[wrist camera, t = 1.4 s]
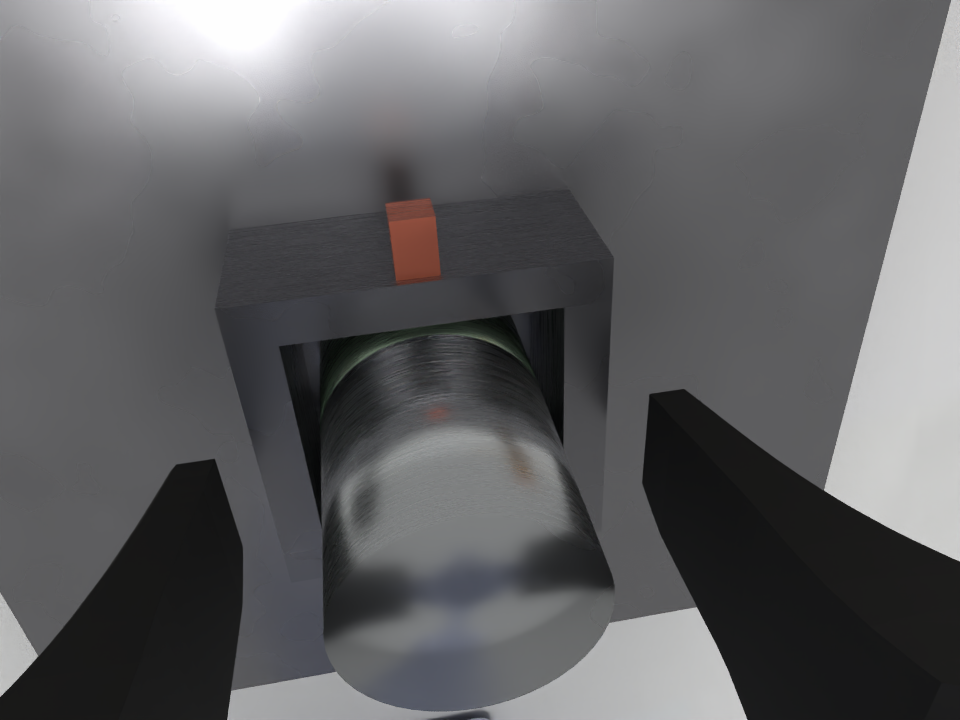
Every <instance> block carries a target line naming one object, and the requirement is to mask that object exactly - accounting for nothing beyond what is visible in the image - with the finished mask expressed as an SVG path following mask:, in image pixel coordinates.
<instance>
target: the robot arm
mask: <svg viewBox="0 0 960 720" xmlns="http://www.w3.org/2000/svg"><path fill="white" fill-rule="evenodd" d="M642 485H643V488H644V491H645V493H646V496H647V499H648V502H649V505H650V508H651V511H652V514H653V516H654V519H655V522H656V524H657V527H658V530H659V533H660V535H661V537H662V539H663V541H664V543H665V545H666V547H667V549H668V551H669V553H670V555H671V557H672V559H673V561H674V563H675V565H676V567H677V569H678V571H679V573H680V575H681V577H682V579H683V581H684V583H685V585H686V587H687V588H688V590H689V592H690V594H691V596H692V598H693V600H694V602H695V604H696V606H697V608H698V610H699V612H700V614H701V616H702V618H703V619H704V621H705V623H706V625H707V627H708V629H709V631H710V633H711V635H712V637H713V639H714V641H715V643H716V645H717V647H718V649H719V651H720V653H721V655H722V658H723V660H724V662H725V664H726V666H727V668H728V671H729V673H730V676H731V678H732V681H733V684H734V686H735V689H736V691H737V694H738V696H739V699H740V701H741V704H742V707H743V709H744V712H745V714H746V717H747V719H748V720H960V562H959V561H957V560H955V559H952V558H950V557H948V556H946V555H944V554H942V553H939V552H937V551H935V550H933V549H931V548H929V547H927V546H924V545H922V544H920V543H918V542H916V541H914V540H912V539H910V538H908V537H906V536H904V535H902V534H900V533H898V532H896V531H894V530H892V529H890V528H888V527H886V526H884V525H882V524H881V523H879V522H877V521H875V520H873V519H871V518H870V517H868V516H866V515H864V514H862V513H861V512H859V511H857V510H855V509H853V508H852V507H850V506H848V505H846V504H845V503H843V502H841V501H840V500H838V499H836V498H835V497H833V496H831V495H830V494H828V493H827V492H825V491H824V490H822V489H821V488H819V487H817V486H816V485H814V484H813V483H811V482H810V481H808V480H807V479H805V478H804V477H802V476H800V475H799V474H797V473H796V472H795V471H793V470H792V469H790V468H789V467H787V466H786V465H784V464H783V463H781V462H780V461H779V460H777V459H776V458H774V457H773V456H772V455H770V454H769V453H768V452H766V451H765V450H763V449H762V448H761V447H759V446H758V445H757V444H755V443H754V442H753V441H751V440H750V439H749V438H747V437H746V436H745V435H743V434H742V433H741V432H739V431H738V430H737V429H735V428H734V427H733V426H732V425H730V424H729V423H728V422H726V421H725V420H724V419H723V418H721V417H720V416H719V415H717V414H716V413H715V412H714V411H712V410H711V409H710V408H708V407H707V406H706V405H705V404H703V403H702V402H701V401H700V400H698V399H697V398H696V397H694V396H693V395H692V394H690V393H689V392H688V391H686V390H685V389H679V390H672V391H665V392H659V393H652V394H649V404H648V416H647V428H646V440H645V452H644V464H643V476H642ZM242 606H243V545H242V542H241V539H240V536H239V532H238V529H237V526H236V523H235V520H234V517H233V514H232V511H231V507H230V504H229V501H228V498H227V495H226V492H225V489H224V486H223V482H222V479H221V476H220V473H219V470H218V467H217V464H216V461H215V459H209V460H203V461H196V462H189V463H182V464H176V465H175V466H174V467H173V469H172V470H171V471H170V473H169V474H168V476H167V478H166V479H165V481H164V482H163V484H162V486H161V487H160V489H159V491H158V492H157V494H156V496H155V497H154V499H153V500H152V502H151V504H150V505H149V507H148V508H147V510H146V512H145V513H144V515H143V516H142V518H141V519H140V521H139V523H138V524H137V526H136V527H135V529H134V530H133V532H132V533H131V535H130V536H129V538H128V539H127V541H126V542H125V544H124V545H123V547H122V548H121V550H120V551H119V553H118V554H117V555H116V557H115V558H114V560H113V561H112V563H111V564H110V566H109V567H108V569H107V570H106V572H105V573H104V574H103V576H102V577H101V578H100V580H99V581H98V582H97V584H96V585H95V586H94V588H93V589H92V590H91V592H90V593H89V594H88V596H87V597H86V598H85V600H84V601H83V602H82V604H81V605H80V606H79V608H78V609H77V610H76V612H75V613H74V614H73V616H72V617H71V618H70V619H69V621H68V622H67V623H66V624H65V626H64V627H63V628H62V629H61V630H60V632H59V633H58V634H57V635H56V637H55V638H54V639H53V640H52V641H51V642H50V644H49V645H48V646H47V647H46V648H45V649H44V651H43V652H42V653H41V654H40V655H39V656H38V657H37V659H36V660H35V661H34V662H33V663H32V664H31V665H30V666H29V668H28V669H27V670H26V671H25V672H24V673H23V674H22V675H21V676H20V677H19V679H18V680H17V681H16V682H15V683H14V684H13V685H12V686H11V687H10V688H9V689H8V690H7V691H6V692H5V693H4V694H3V695H2V696H1V697H0V720H227V716H228V709H229V702H230V695H231V687H232V680H233V673H234V666H235V659H236V652H237V644H238V637H239V629H240V622H241V614H242ZM469 720H488V719H486V718H474V719H469Z"/></svg>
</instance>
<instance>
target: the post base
mask: <svg viewBox="0 0 960 720" xmlns="http://www.w3.org/2000/svg"><path fill="white" fill-rule="evenodd" d="M950 2H951V0H0V592H1V594H2V596H3V597H4V599H5V601H6V602H7V604H8V606H9V608H10V609H11V611H12V613H13V614H14V616H15V618H16V619H17V621H18V623H19V624H20V626H21V628H22V629H23V631H24V633H25V634H26V636H27V638H28V639H29V641H30V643H31V644H32V646H33V648H34V649H35V651H36V653H37V655H38V656H39V655H40V654H41V653H42V652H43V651H44V649H45V648H46V647H47V646H48V645H49V644H50V642H51V641H52V640H53V639H54V638H55V637H56V635H57V634H58V633H59V632H60V630H61V629H62V628H63V627H64V626H65V624H66V623H67V622H68V621H69V619H70V618H71V617H72V616H73V614H74V613H75V612H76V610H77V609H78V608H79V606H80V605H81V604H82V602H83V601H84V600H85V598H86V597H87V596H88V594H89V593H90V592H91V590H92V589H93V588H94V586H95V585H96V584H97V582H98V581H99V580H100V578H101V577H102V576H103V574H104V573H105V572H106V570H107V569H108V567H109V566H110V564H111V563H112V561H113V560H114V558H115V557H116V555H117V554H118V553H119V551H120V550H121V548H122V547H123V545H124V544H125V542H126V541H127V539H128V538H129V536H130V535H131V533H132V532H133V530H134V529H135V527H136V526H137V524H138V523H139V521H140V519H141V518H142V516H143V515H144V513H145V512H146V510H147V508H148V507H149V505H150V504H151V502H152V500H153V499H154V497H155V496H156V494H157V492H158V491H159V489H160V487H161V486H162V484H163V482H164V481H165V479H166V478H167V476H168V474H169V473H170V471H171V470H172V469H173V467H174V466H175V465H176V464H182V463H189V462H196V461H203V460H209V459H215V461H216V464H217V467H218V470H219V473H220V476H221V479H222V482H223V486H224V489H225V492H226V495H227V498H228V501H229V504H230V507H231V511H232V514H233V517H234V520H235V523H236V526H237V529H238V532H239V536H240V539H241V542H242V545H243V606H242V614H241V622H240V629H239V637H238V644H237V652H236V659H235V666H234V673H233V680H232V687H231V690H237V689H243V688H248V687H254V686H259V685H265V684H270V683H276V682H282V681H287V680H293V679H298V678H304V677H309V676H315V675H321V674H326V673H332V672H336V670H335V669H334V667H333V666H332V664H331V662H330V661H329V658H328V655H327V653H326V650H325V645H324V638H323V580H322V505H321V431H320V347H321V342H322V340H328V339H336V338H343V337H351V336H358V335H365V334H373V333H380V332H387V331H395V330H402V329H410V328H417V327H424V326H432V325H439V324H446V323H454V322H461V321H469V320H476V319H483V318H491V317H498V316H505V315H511V316H512V318H513V321H514V323H515V325H516V328H517V331H518V333H519V336H520V338H521V341H522V343H523V346H524V349H525V351H526V354H527V356H528V359H529V361H530V364H531V367H532V369H533V372H534V374H535V377H536V380H537V382H538V385H539V387H540V390H541V392H542V395H543V398H544V400H545V403H546V405H547V408H548V411H549V413H550V416H551V418H552V421H553V423H554V426H555V429H556V431H557V434H558V436H559V439H560V441H561V444H562V447H563V449H564V452H565V454H566V457H567V460H568V462H569V465H570V467H571V470H572V472H573V475H574V478H575V480H576V483H577V485H578V488H579V491H580V493H581V496H582V498H583V501H584V503H585V506H586V509H587V511H588V514H589V516H590V519H591V521H592V524H593V527H594V529H595V532H596V534H597V537H598V540H599V542H600V545H601V547H602V550H603V552H604V555H605V558H606V560H607V563H608V565H609V568H610V570H611V573H612V577H613V581H614V585H615V602H614V608H613V612H612V615H611V618H610V621H609V623H610V622H616V621H621V620H627V619H633V618H638V617H644V616H649V615H655V614H660V613H666V612H672V611H677V610H683V609H688V608H694V607H697V606H696V604H695V602H694V600H693V598H692V596H691V594H690V592H689V590H688V588H687V587H686V585H685V583H684V581H683V579H682V577H681V575H680V573H679V571H678V569H677V567H676V565H675V563H674V561H673V559H672V557H671V555H670V553H669V551H668V549H667V547H666V545H665V543H664V541H663V539H662V537H661V535H660V533H659V530H658V527H657V524H656V522H655V519H654V516H653V514H652V511H651V508H650V505H649V502H648V499H647V496H646V493H645V491H644V488H643V485H642V476H643V464H644V452H645V440H646V428H647V416H648V404H649V394H652V393H659V392H665V391H672V390H679V389H685V390H686V391H688V392H689V393H690V394H692V395H693V396H694V397H696V398H697V399H698V400H700V401H701V402H702V403H703V404H705V405H706V406H707V407H708V408H710V409H711V410H712V411H714V412H715V413H716V414H717V415H719V416H720V417H721V418H723V419H724V420H725V421H726V422H728V423H729V424H730V425H732V426H733V427H734V428H735V429H737V430H738V431H739V432H741V433H742V434H743V435H745V436H746V437H747V438H749V439H750V440H751V441H753V442H754V443H755V444H757V445H758V446H759V447H761V448H762V449H763V450H765V451H766V452H768V453H769V454H770V455H772V456H773V457H774V458H776V459H777V460H779V461H780V462H781V463H783V464H784V465H786V466H787V467H789V468H790V469H792V470H793V471H795V472H796V473H797V474H799V475H800V476H802V477H804V478H805V479H807V480H808V481H810V482H811V483H813V484H814V485H816V486H817V487H819V488H821V489H822V490H824V487H825V483H826V479H827V476H828V472H829V468H830V464H831V460H832V456H833V453H834V449H835V445H836V441H837V437H838V433H839V429H840V426H841V422H842V418H843V414H844V410H845V406H846V403H847V399H848V395H849V391H850V387H851V383H852V379H853V376H854V372H855V368H856V364H857V360H858V356H859V352H860V349H861V345H862V341H863V337H864V333H865V329H866V326H867V322H868V318H869V314H870V310H871V306H872V302H873V299H874V295H875V291H876V287H877V283H878V279H879V275H880V272H881V268H882V264H883V260H884V256H885V252H886V249H887V245H888V241H889V237H890V233H891V229H892V225H893V222H894V218H895V214H896V210H897V206H898V202H899V199H900V195H901V191H902V187H903V183H904V179H905V175H906V172H907V168H908V164H909V160H910V156H911V152H912V148H913V145H914V141H915V137H916V133H917V129H918V125H919V122H920V118H921V114H922V110H923V106H924V102H925V98H926V95H927V91H928V87H929V83H930V79H931V75H932V71H933V68H934V64H935V60H936V56H937V52H938V48H939V45H940V41H941V37H942V33H943V29H944V25H945V21H946V18H947V14H948V10H949V6H950Z"/></svg>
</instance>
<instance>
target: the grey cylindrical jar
mask: <svg viewBox="0 0 960 720" xmlns="http://www.w3.org/2000/svg"><path fill="white" fill-rule="evenodd" d="M320 431H321V505H322V580H323V638H324V645H325V650H326V653H327V655H328V658H329V661H330V662H331V664H332V666H333V667H334V669H335V670H336V672H337V673H338V674H339V675H340V676H341V677H342V678H343V679H344V681H346V682H347V683H348V684H349V685H351V686H352V687H353V688H354V689H356V690H357V691H359V692H361V693H363V694H364V695H366V696H368V697H370V698H373V699H375V700H377V701H380V702H382V703H386V704H389V705H393V706H396V707H401V708H406V709H412V710H421V711H458V710H468V709H474V708H481V707H485V706H490V705H494V704H498V703H502V702H505V701H508V700H511V699H515V698H517V697H520V696H522V695H525V694H527V693H530V692H532V691H534V690H536V689H538V688H540V687H542V686H544V685H546V684H548V683H550V682H551V681H553V680H555V679H556V678H558V677H560V676H561V675H563V674H564V673H565V672H567V671H568V670H570V669H571V668H572V667H574V666H575V665H576V664H577V663H578V662H579V661H580V660H581V659H583V658H584V657H585V656H586V655H587V654H588V652H589V651H590V650H591V649H592V648H593V647H594V646H595V645H596V643H597V642H598V640H599V639H600V638H601V636H602V635H603V633H604V631H605V629H606V627H607V625H608V624H609V621H610V618H611V615H612V612H613V608H614V602H615V585H614V581H613V577H612V573H611V570H610V568H609V565H608V563H607V560H606V558H605V555H604V552H603V550H602V547H601V545H600V542H599V540H598V537H597V534H596V532H595V529H594V527H593V524H592V521H591V519H590V516H589V514H588V511H587V509H586V506H585V503H584V501H583V498H582V496H581V493H580V491H579V488H578V485H577V483H576V480H575V478H574V475H573V472H572V470H571V467H570V465H569V462H568V460H567V457H566V454H565V452H564V449H563V447H562V444H561V441H560V439H559V436H558V434H557V431H556V429H555V426H554V423H553V421H552V418H551V416H550V413H549V411H548V408H547V405H546V403H545V400H544V398H543V395H542V392H541V390H540V387H539V385H538V382H537V380H536V377H535V374H534V372H533V369H532V367H531V364H530V361H529V359H528V356H527V354H526V351H525V349H524V346H523V343H522V341H521V338H520V336H519V333H518V331H517V328H516V325H515V323H514V321H513V318H512V316H511V315H505V316H498V317H491V318H483V319H476V320H469V321H461V322H454V323H446V324H439V325H432V326H424V327H417V328H410V329H402V330H395V331H387V332H380V333H373V334H365V335H358V336H351V337H343V338H336V339H328V340H322V342H321V347H320Z"/></svg>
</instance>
